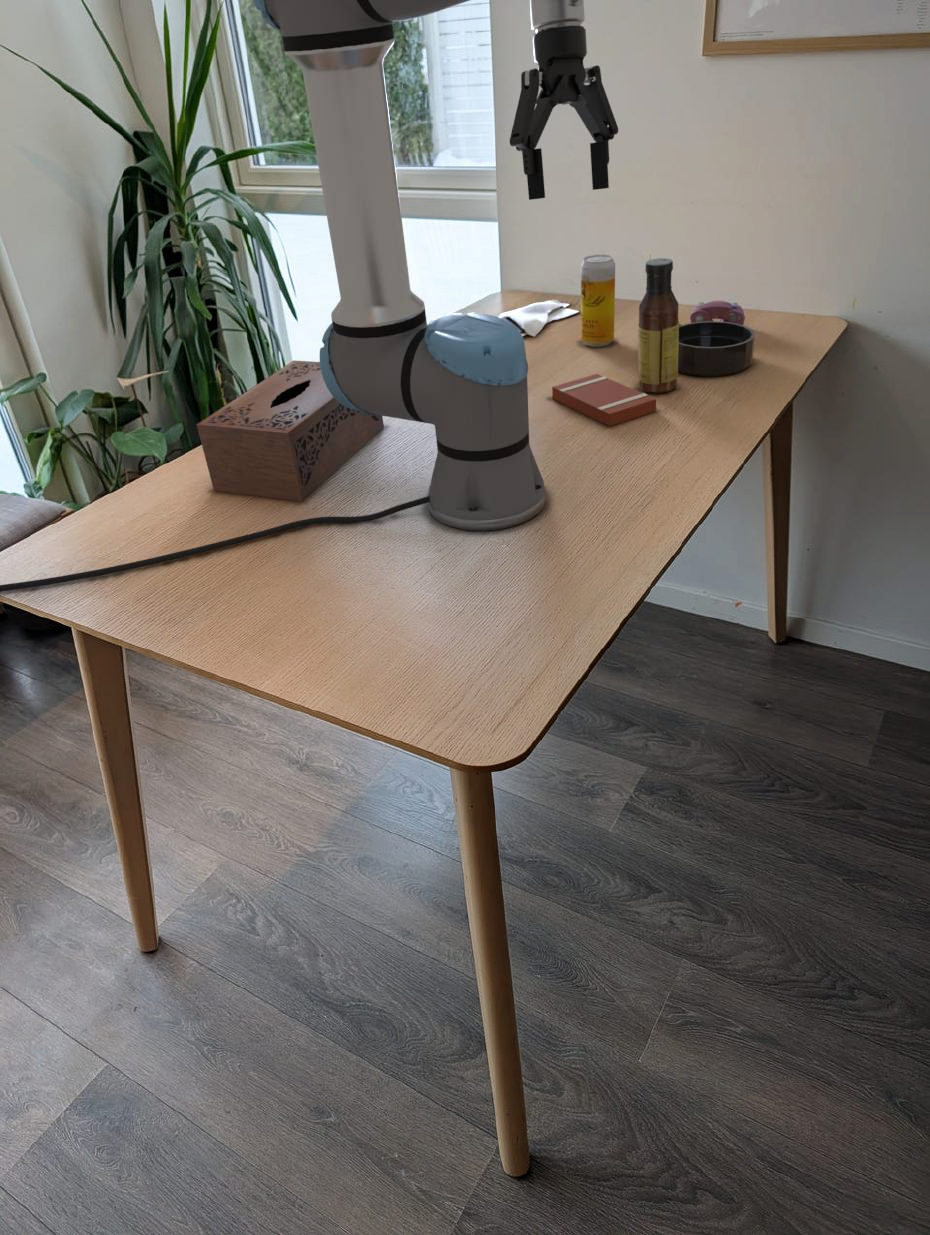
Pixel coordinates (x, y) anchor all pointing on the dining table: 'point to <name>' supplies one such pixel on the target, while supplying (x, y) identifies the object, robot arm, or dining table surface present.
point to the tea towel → (604, 399)
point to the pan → (714, 348)
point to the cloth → (537, 316)
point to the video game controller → (717, 312)
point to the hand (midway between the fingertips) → (569, 194)
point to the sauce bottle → (658, 330)
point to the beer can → (597, 300)
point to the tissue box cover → (283, 436)
